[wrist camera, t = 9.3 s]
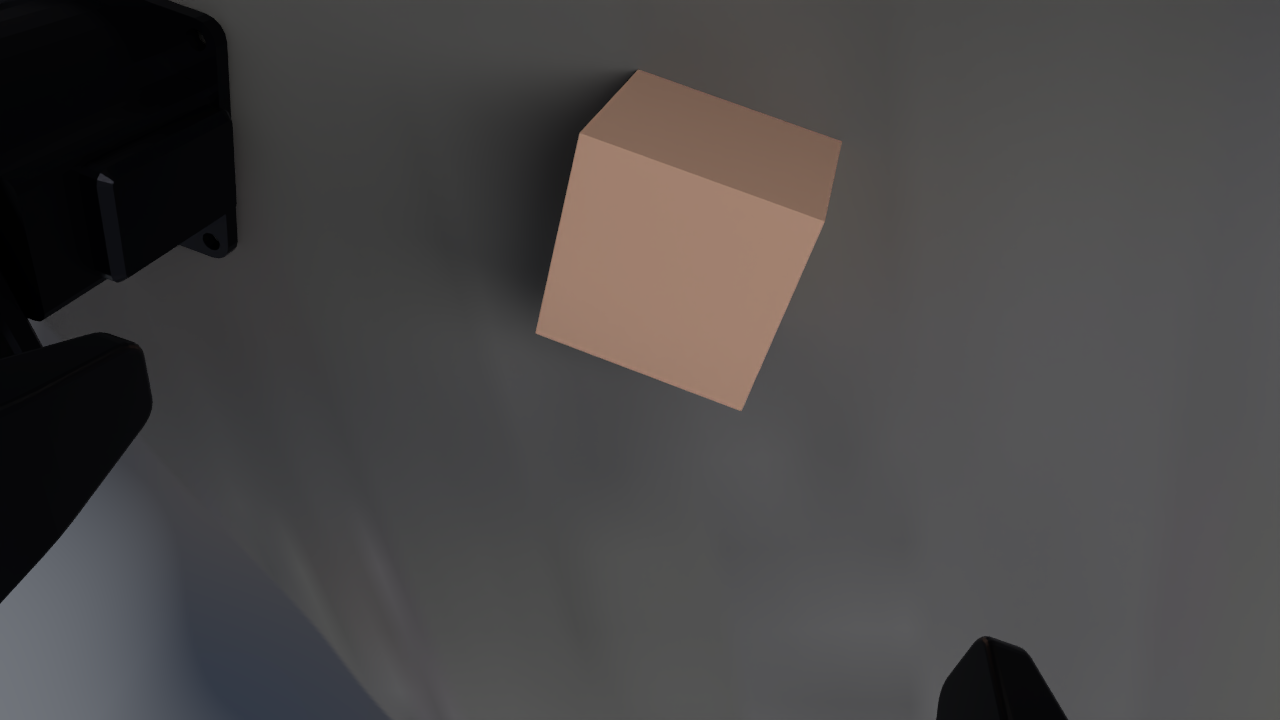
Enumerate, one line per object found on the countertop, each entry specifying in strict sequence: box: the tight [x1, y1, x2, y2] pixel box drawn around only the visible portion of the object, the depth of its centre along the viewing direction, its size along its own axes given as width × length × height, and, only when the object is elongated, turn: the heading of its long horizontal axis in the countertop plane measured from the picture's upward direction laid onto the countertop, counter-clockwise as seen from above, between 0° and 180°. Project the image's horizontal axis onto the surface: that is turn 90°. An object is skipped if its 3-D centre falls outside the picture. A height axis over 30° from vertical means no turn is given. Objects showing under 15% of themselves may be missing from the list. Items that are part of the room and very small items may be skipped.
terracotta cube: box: [536, 69, 842, 411], centre depth 18 cm, size 4×4×4 cm
